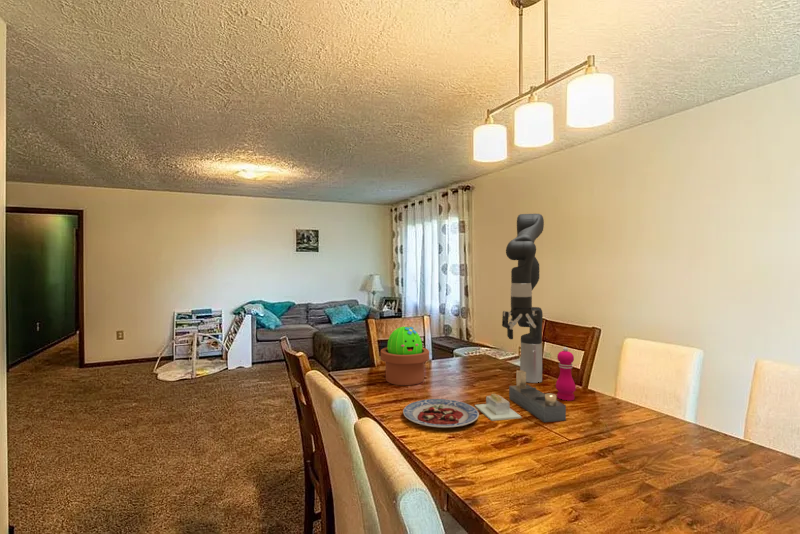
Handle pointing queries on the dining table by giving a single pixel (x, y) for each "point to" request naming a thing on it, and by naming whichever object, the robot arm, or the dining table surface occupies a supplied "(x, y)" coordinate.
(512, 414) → the rubber mat
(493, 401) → the white rectangular block
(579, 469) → the dining table surface
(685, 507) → the dining table surface
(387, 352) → the potted cactus
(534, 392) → the hand plane
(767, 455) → the dining table surface
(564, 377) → the pepper mill
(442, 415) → the ceramic plate
